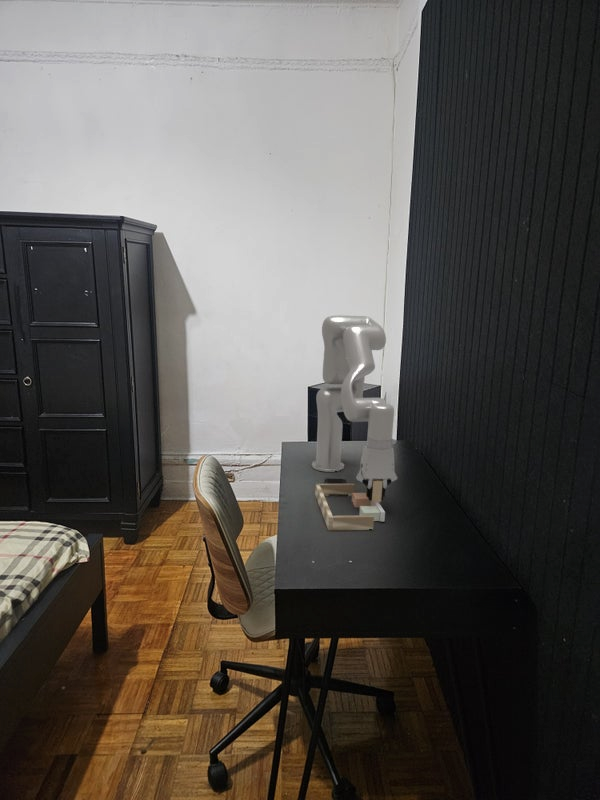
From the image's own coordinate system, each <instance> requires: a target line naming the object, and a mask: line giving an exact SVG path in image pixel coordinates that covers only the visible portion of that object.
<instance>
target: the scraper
mask: <svg viewBox="0 0 600 800" xmlns="http://www.w3.org/2000/svg"><path fill="white" fill-rule="evenodd" d="M382 484H383V481H382V479H373V480H372V489H373V492H372V500H371V505H370V506H376V507H377V509H378V510H379V512H380V519H379V522H385V518H386V511H385V510H384V508H383V507H382V505H381V502H382V500H381V497H382Z"/></svg>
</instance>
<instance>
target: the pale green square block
mask: <svg viewBox="0 0 600 800" xmlns="http://www.w3.org/2000/svg"><path fill="white" fill-rule="evenodd" d="M359 515H373V516H374V521H379V522H380V520H379V519H380V512H379V510H378V509H377V507H376V506H371V505H370V506H360V507H359Z"/></svg>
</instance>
